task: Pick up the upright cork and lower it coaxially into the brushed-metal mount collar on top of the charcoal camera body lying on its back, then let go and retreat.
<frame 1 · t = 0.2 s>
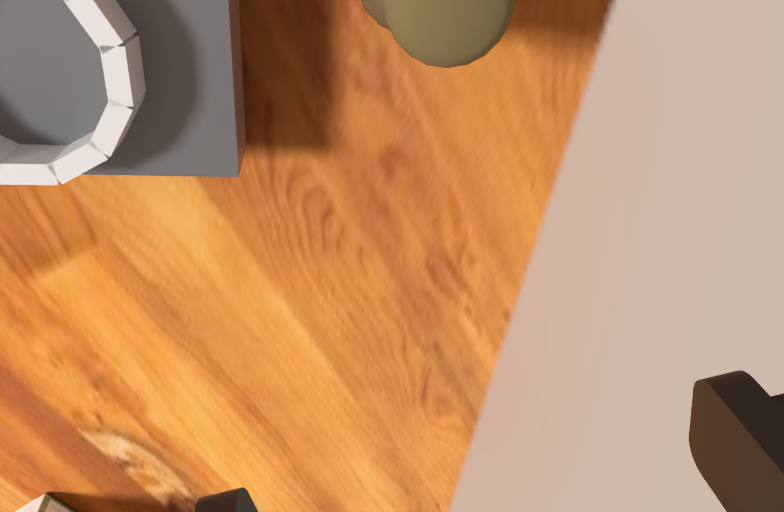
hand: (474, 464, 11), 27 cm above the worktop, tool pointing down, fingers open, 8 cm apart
camera body: (62, 37, 31), on the worktop
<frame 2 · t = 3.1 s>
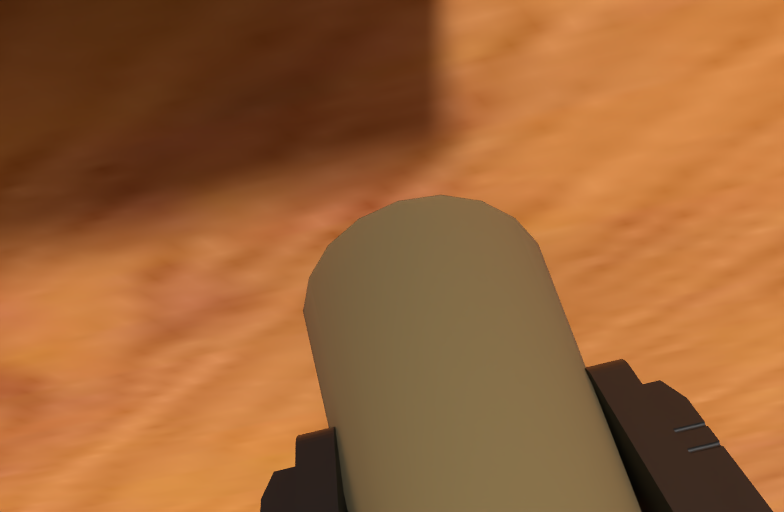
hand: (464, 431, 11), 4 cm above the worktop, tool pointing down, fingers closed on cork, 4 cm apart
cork: (427, 303, 15), on the worktop, touching gripper
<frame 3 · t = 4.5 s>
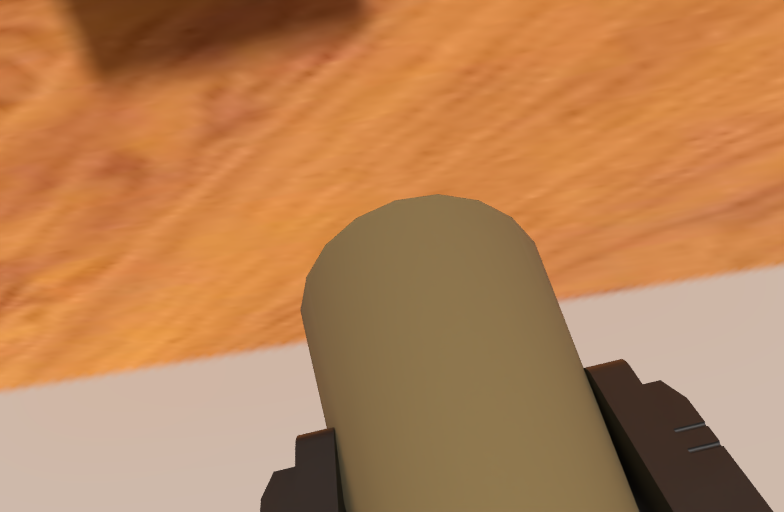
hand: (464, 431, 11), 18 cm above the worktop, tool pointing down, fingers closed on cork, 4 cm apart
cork: (424, 302, 15), point 14 cm above the worktop, touching gripper
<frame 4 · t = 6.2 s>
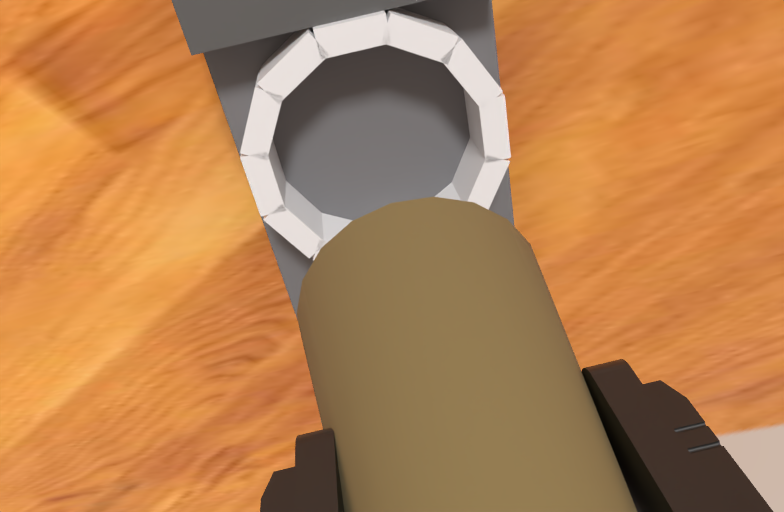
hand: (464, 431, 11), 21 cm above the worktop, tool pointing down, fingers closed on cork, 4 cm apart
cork: (420, 304, 15), point 17 cm above the worktop, touching gripper
camera body: (362, 100, 29), on the worktop
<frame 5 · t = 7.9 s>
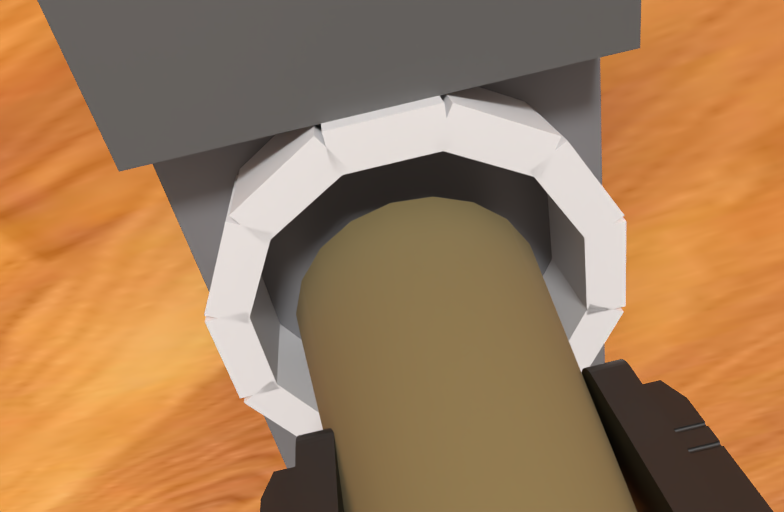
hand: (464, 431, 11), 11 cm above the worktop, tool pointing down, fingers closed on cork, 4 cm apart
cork: (420, 305, 15), point 7 cm above the worktop, touching gripper
camera body: (387, 186, 21), on the worktop
when the fingers open (10 cm above the worktop, at t = 9.3 s): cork drops 1 cm, resting on camera body.
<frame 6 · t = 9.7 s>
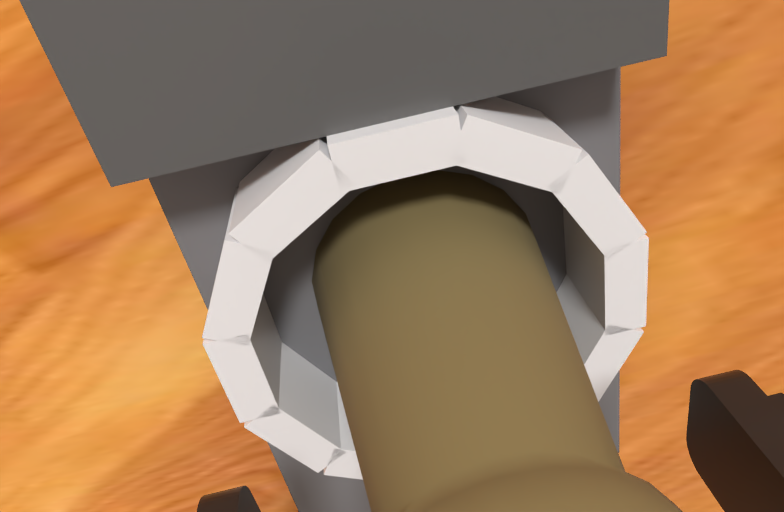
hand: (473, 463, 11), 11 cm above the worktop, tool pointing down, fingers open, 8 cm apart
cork: (425, 272, 16), point 5 cm above the worktop, touching camera body
camera body: (393, 195, 20), on the worktop
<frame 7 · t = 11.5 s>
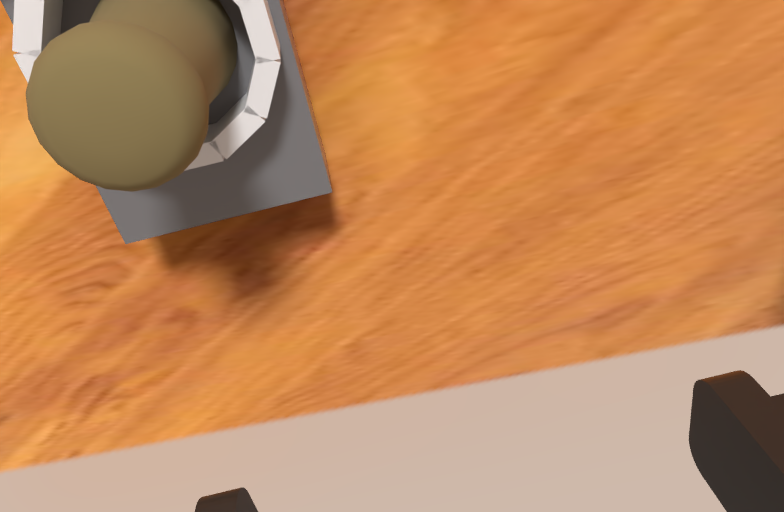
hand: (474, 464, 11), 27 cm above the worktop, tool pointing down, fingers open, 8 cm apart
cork: (167, 42, 27), point 5 cm above the worktop, touching camera body
camera body: (176, 21, 31), on the worktop
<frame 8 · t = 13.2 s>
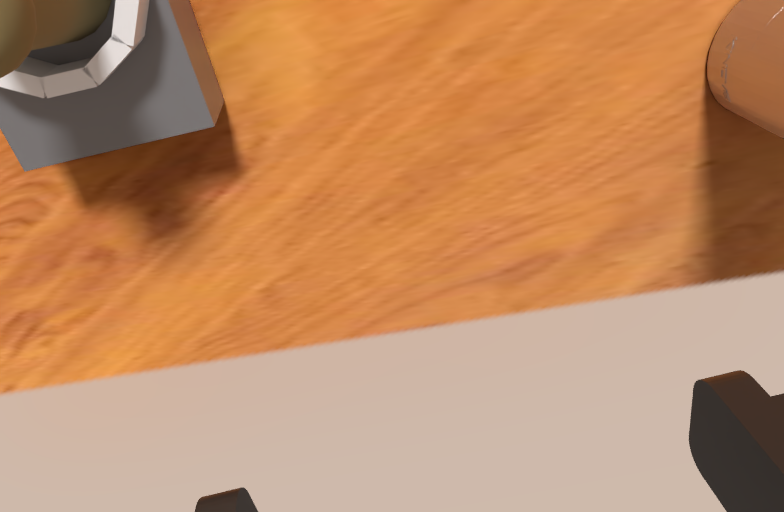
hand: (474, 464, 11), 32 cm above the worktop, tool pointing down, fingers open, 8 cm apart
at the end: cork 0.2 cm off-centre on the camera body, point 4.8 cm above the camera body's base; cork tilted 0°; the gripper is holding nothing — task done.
